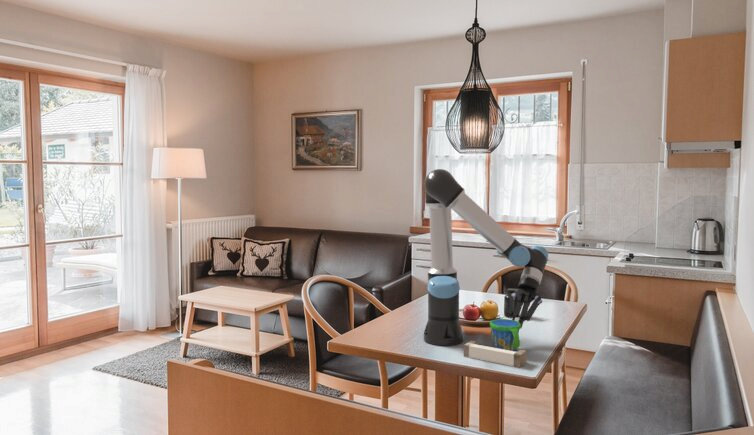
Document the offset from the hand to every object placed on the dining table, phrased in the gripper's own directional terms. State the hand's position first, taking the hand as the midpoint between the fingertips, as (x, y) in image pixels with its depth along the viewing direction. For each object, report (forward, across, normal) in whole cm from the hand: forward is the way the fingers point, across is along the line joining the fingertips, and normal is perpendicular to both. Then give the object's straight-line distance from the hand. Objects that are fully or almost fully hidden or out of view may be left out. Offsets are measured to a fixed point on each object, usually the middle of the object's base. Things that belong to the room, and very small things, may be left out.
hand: (513, 334), depth 199 cm
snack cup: (+7, +1, +1) cm, 7 cm away
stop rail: (+15, 0, +8) cm, 17 cm away
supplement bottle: (-26, +17, -33) cm, 45 cm away
